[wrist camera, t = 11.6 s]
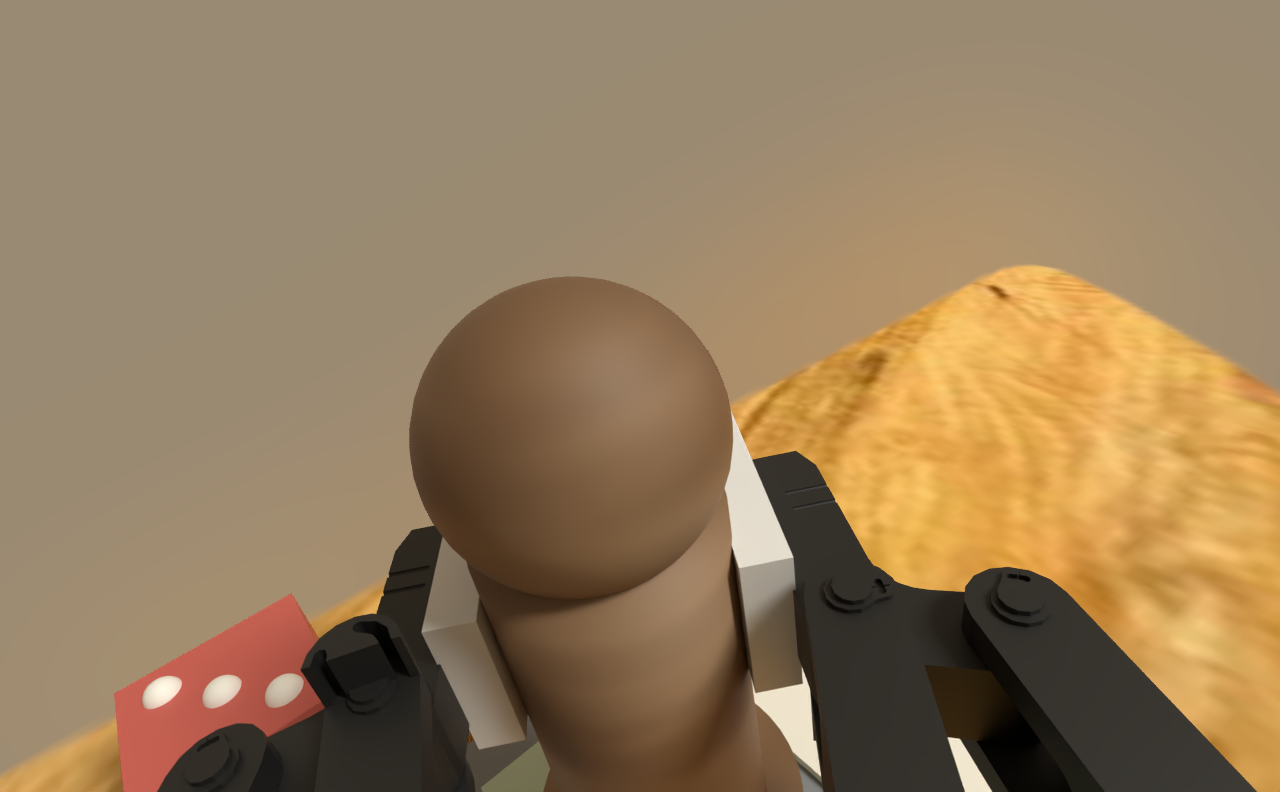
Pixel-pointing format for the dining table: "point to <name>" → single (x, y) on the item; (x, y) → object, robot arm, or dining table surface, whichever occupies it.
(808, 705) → the game board
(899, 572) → the dining table surface
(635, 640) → the pawn
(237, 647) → the red die
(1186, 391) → the dining table surface
